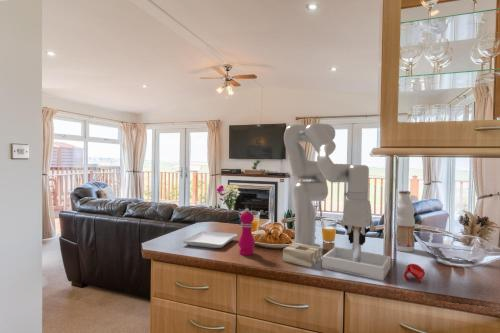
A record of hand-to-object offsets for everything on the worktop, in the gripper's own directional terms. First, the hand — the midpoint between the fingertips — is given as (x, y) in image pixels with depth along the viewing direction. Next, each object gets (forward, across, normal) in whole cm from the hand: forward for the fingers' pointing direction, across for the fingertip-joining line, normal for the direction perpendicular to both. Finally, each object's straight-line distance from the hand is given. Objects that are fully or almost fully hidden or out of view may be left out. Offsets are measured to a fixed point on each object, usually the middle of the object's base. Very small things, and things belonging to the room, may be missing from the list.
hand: (356, 243), depth 118 cm
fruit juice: (+10, +12, +40) cm, 43 cm away
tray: (+10, 0, 0) cm, 10 cm away
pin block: (+10, -21, -4) cm, 23 cm away
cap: (+10, +20, -1) cm, 22 cm away
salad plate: (+10, -69, -6) cm, 70 cm away
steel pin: (+7, 0, 0) cm, 7 cm away
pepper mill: (+10, -45, -10) cm, 47 cm away
